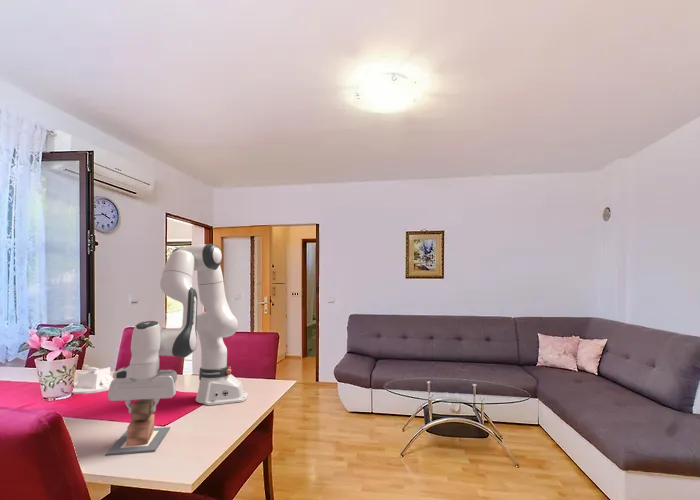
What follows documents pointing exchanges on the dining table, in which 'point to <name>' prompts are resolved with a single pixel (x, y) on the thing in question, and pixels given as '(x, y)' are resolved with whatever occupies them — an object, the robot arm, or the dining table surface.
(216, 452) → the dining table surface
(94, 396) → the dining table surface
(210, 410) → the dining table surface
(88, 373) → the dish
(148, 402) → the walnut cube
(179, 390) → the dining table surface
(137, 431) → the terracotta block
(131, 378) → the robot arm
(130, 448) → the build mat
